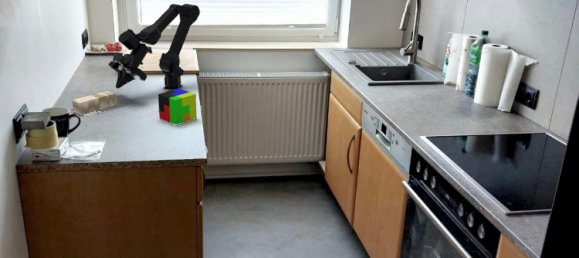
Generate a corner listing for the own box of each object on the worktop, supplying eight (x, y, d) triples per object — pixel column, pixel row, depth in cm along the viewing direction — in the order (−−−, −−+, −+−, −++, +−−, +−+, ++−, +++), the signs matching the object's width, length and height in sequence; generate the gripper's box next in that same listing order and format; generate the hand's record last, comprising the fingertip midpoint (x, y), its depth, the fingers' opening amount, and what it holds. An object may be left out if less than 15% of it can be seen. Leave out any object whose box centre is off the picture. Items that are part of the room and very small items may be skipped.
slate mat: (121, 96, 227) (121, 95, 227) (139, 103, 220) (139, 101, 220) (70, 110, 209) (70, 109, 209) (88, 118, 202) (87, 117, 202)
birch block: (108, 90, 216) (72, 100, 205) (115, 93, 214) (79, 103, 202) (109, 102, 218) (73, 112, 206) (116, 105, 215) (81, 115, 204)
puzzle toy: (179, 112, 212) (178, 88, 208) (196, 118, 206) (195, 94, 203) (159, 118, 205) (157, 94, 201) (176, 125, 199) (175, 100, 195)
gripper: (109, 41, 219) (89, 73, 215) (138, 49, 209) (117, 82, 205) (127, 56, 228) (108, 87, 224) (155, 64, 218) (136, 96, 214)
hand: (116, 88), depth 216 cm, fingers closed
